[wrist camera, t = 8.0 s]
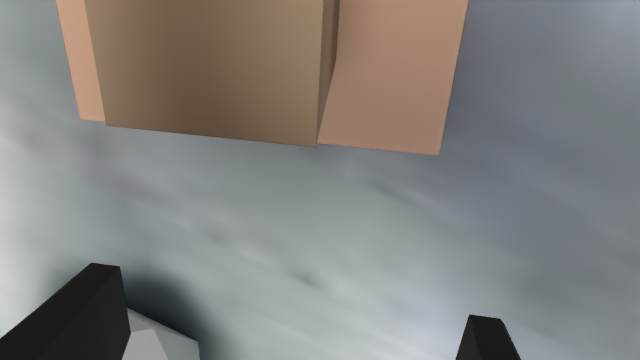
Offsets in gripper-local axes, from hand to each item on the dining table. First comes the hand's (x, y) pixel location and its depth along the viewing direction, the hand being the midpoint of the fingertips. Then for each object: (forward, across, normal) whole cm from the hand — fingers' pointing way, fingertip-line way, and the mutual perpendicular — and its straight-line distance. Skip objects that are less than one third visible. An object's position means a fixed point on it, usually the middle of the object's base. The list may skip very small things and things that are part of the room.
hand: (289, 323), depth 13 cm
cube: (+8, +3, -5) cm, 10 cm away
